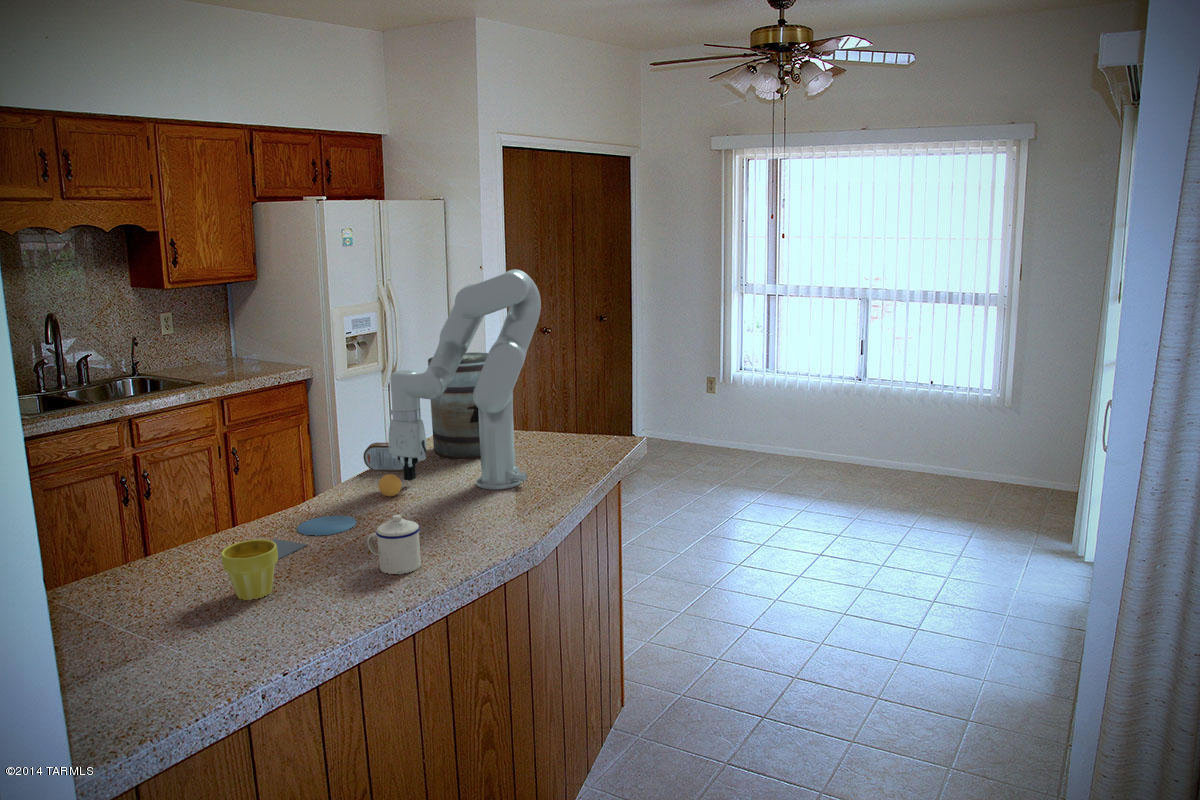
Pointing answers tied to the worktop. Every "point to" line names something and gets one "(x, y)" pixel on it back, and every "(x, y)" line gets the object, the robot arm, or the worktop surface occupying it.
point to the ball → (390, 485)
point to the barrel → (458, 412)
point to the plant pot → (251, 567)
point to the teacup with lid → (397, 546)
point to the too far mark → (287, 547)
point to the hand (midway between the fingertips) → (410, 479)
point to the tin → (381, 458)
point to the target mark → (326, 525)
